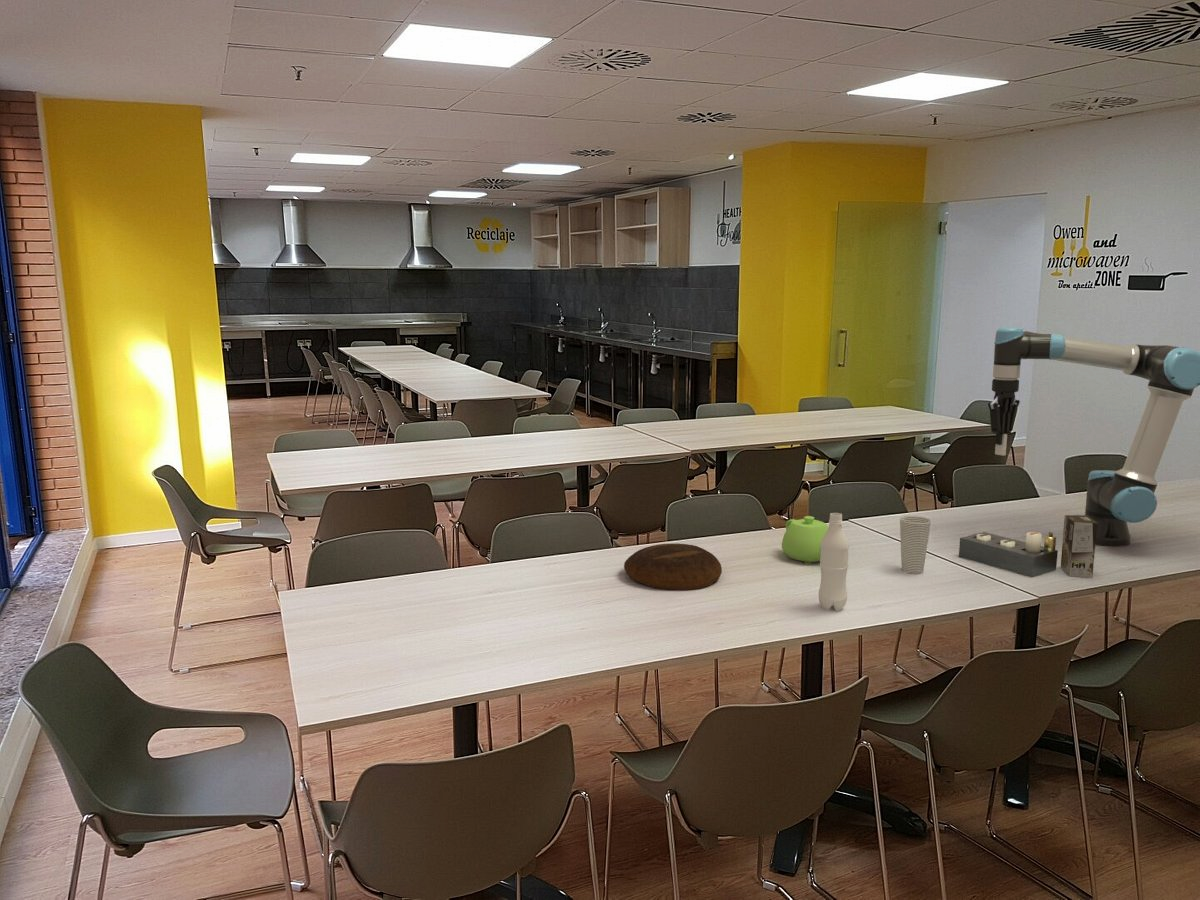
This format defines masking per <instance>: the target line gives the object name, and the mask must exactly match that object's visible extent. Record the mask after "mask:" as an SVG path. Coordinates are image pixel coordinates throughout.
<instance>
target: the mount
mask: <svg viewBox="0 0 1200 900" xmlns="http://www.w3.org/2000/svg"><path fill="white" fill-rule="evenodd" d="M977 534H988V535H990V536H991V540H988V541H984V540H980V539H977ZM1001 540H1012V541H1014V542H1015V546H1013V547H1007V546H1003V545H1000V541H1001ZM1025 548H1026V541H1023V540H1018V539H1014V538H1010V537H1006V536H1002V535H998V534H994V533H990V532H986V531H982V532H978V533H974V534H971V535H970V534H969V535H967V536H961V537H959V548H958V557H959V558H962V559H966V560H968V561H972V562H975V563H980V564H984V565H987V566H990V567H994V568H998V569H1001V570H1003V571H1008V572H1011V573H1015V574H1017V575H1023V576H1027V577H1030V578H1035V577H1038V575H1039V576H1042V575H1045V574H1047V573H1051V572H1055V571H1057V565H1058V554H1059V551H1058V549H1055V551H1053V552H1050V551H1045V550H1044V545H1041V552H1040V553H1037V554H1035V553H1031V552H1027V551H1025Z"/></svg>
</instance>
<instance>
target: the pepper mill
mask: <svg viewBox="0 0 1200 900" xmlns="http://www.w3.org/2000/svg"><path fill="white" fill-rule="evenodd" d="M1043 540H1044V542H1043V547H1044V550H1045V551H1050V552H1053V551H1055V550H1056V544H1057V536H1055V535H1054V534H1053V532H1052V531H1049V532H1048V535H1044V539H1043Z"/></svg>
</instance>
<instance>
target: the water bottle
mask: <svg viewBox="0 0 1200 900" xmlns="http://www.w3.org/2000/svg"><path fill="white" fill-rule="evenodd" d="M828 524H829V526H828V530H827V532H826V533H825V535H824V537H823V538H822V540H821V545H820V546H821V556H820V561H819V562H820V563H819V568H820V585H819V589H818V602H819V604H820V605H821V607H822V608H823V609H824V610H827V611H830V610H831V607H832V606H833V608H834V610H835V611H841V610H842V609H843V608H844V607H845V606H846V604H847V600H848V592H847V573H848V567H849V549H850V544H849V539H848V538H847V535H846V534H845V532H844V529H843V525H844V523H843V514H842V513H841V512H840V513H839V512H831V513H829V521H828Z"/></svg>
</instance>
